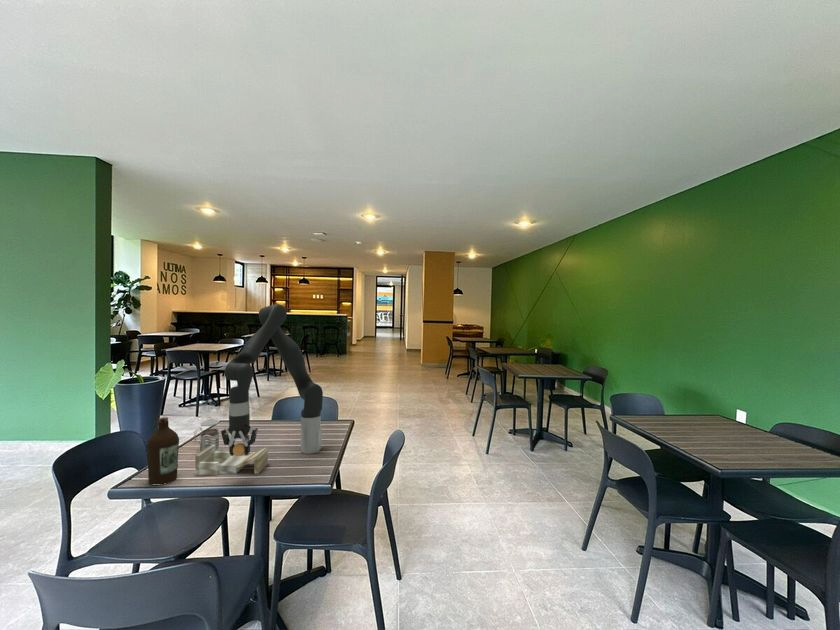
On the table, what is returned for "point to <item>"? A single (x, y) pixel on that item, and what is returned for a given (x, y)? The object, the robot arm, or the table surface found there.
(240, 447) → the ball
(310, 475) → the table surface
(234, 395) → the robot arm
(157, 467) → the olive oil
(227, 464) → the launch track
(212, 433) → the french press
